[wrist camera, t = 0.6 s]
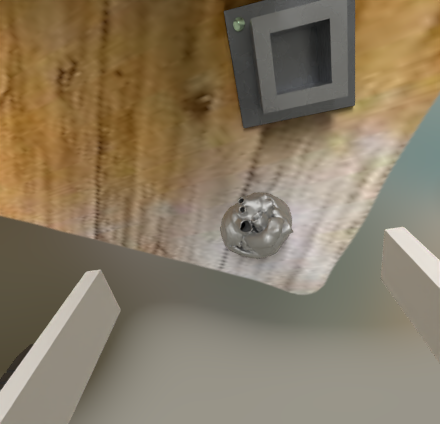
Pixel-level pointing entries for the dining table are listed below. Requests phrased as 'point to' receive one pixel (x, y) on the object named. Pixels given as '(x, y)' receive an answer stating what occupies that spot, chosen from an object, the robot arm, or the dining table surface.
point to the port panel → (292, 58)
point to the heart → (256, 225)
